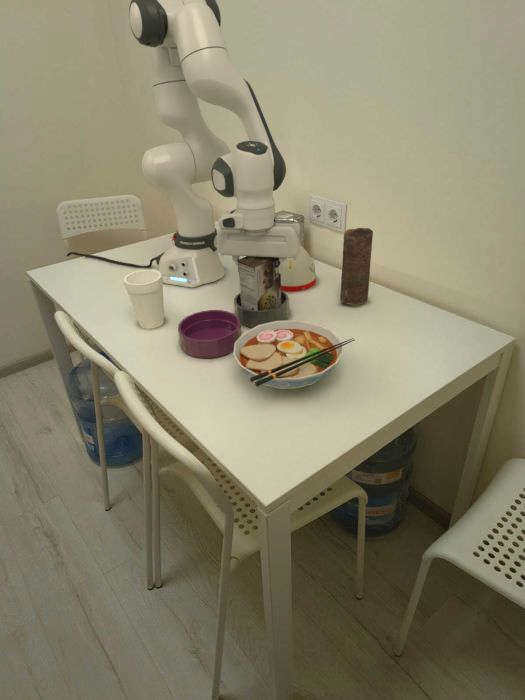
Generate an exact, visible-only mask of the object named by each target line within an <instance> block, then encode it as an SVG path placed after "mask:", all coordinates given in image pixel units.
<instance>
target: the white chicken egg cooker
mask: <svg viewBox="0 0 525 700" xmlns="http://www.w3.org/2000/svg"><path fill="white" fill-rule="evenodd" d="M314 260H315V259H314V257H313V256H311V255H310V254H309V252H308V251H307V250H306V249H305V248H304V247H303V246H302V245H300V253H299V255H298V256H297V257H296V258H286V260H285V262H284V264H283V266H282V274H281V290H282V291H284V292H285V293H286V292H291V293H293V292H302V291H307V290H309V289H311V288H312V287H314V286H315V284H316V282H317V273H316V266H315V261H314ZM281 262H282V261H281ZM281 262H280V263H281Z"/></svg>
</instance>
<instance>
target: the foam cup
mask: <svg viewBox="0 0 525 700" xmlns="http://www.w3.org/2000/svg"><path fill="white" fill-rule="evenodd" d="M156 270H157V269H140V270H136V271H133V272H130V273H128V274H127V275H125V276H124V278H123V279H122V281H123V285H124V289H125V290H126V292H127V294H128V297H129V300H130V303H131V305H132V308H133V311H134V314H135V316H136V319H137V321H138V324H139V326H140V327H141V328H143V329H149V330H150V329H156V328H159V327H160V326H162V325H163V324H164V323H165V308H164V307H165V305H164V286H163V285H164V283H163V277H162V274H161V273H160V272H159V271H156Z"/></svg>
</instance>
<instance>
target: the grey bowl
mask: <svg viewBox="0 0 525 700" xmlns="http://www.w3.org/2000/svg"><path fill="white" fill-rule="evenodd" d="M289 301H290V300H289V296H288V294H287V293H286V291H282V290H281V304H282V305H281V306H278V307H276V308H273V309H269V310H260V311H257V310H249V309H245V308H243V307H241V294H240V292H239V293H237V294H236V295H235V297H234V298H233V303H234V314H235V315H236V316H238V318H239V319H240V322H241V326H243V327H247V328H249V329H252V328H254V327H256V326H258V325H261V324H265V323H270V322H274V321H286V320H287V319H288V318H289V315H290V304H289V303H290V302H289Z"/></svg>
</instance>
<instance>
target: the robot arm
mask: <svg viewBox="0 0 525 700" xmlns="http://www.w3.org/2000/svg"><path fill="white" fill-rule="evenodd" d="M221 16H222V15H221V11H220V8H219V5H218V3H217V1H216V0H131V1H130V3H129V9H128V18H129V24H130V25H129V26H130V29H131V32H132V34H133V36H134V39H136V40H137V42H138V43H139V44H140V45H142V46H144V47H148V48H147V49H148V50H147V51H148V55H147V56H148V69H149V77H150V83H151V89H152V94H153V98H154V103H155V108H156V113H157V117H158V118H159V120H160V121H161V123H162V124H163V125H165V126H167V127H169V128H171V129H173V130H176V131H177V132H179V134H180V135H181V136H182V139H183V141H181V142H173V143H167V144H161V145H158V146H155V147H153V148H150V149H147V150H145V152H144V154H143V155H142V158H141V171H142V174H143V177H144V179H145V180H146V182H147V183H148V184H149V185H150V186H152V187H153V188H154V189H156V190H158V191H159V192H161V193H162V194H163V195H164V196H165V197H166V198H167V200H168V201H169V202H170V204H171V207H172V209H173V212H174V217H175V221H176V226H177V229H176V230H175V232H174V233H173V234H172V236H171V237H170V240H171V242H173V241H174V243H173V244H172V245H171V246H170V247H169V248H168V249H167V250H166V251H164V252H162V253H160V254H158V255H157V256H156V257H155V256H154V257H152V258H151V259H150V260H149V264H148V265H138V264H135V263H130V262H123V261H119V260H115V259H110V258H107V257H103V256H98V255H94V254H88V253H81V252H80V253H79V252H75V251H70V252H67V254H66V257H70V256H71V255H74V256H78V257H86V258H93V259H98V260H102V261H106V262H109V263H114V264H118V265H121V266H127V267H134V268H138V269H139V268H141V269H143V268H144V269H149V268H151V267H152V265H153V262H154V261H156V265H157V266H158V268H157V269H155V270H156V271H159V272H160V273H161V274H162V277H163V284H169V285H174V286H179V287H185V288H197V287H200V286H202V285H206V284H211V283H214V282H216V281H219V280H221V279H222V278H223V277H224V276H225V275H226V271H225V269H224V266H223V263H222V260H221V256H229V257H232V261H233V263H234V264H235V265H236V267H237V272H238V273H239V268H238V260H240V259H241V258H240V257H246V256H252V257H276V258H279V261H280V262H281V261H282V262H281V263H280V265H276V267H275V274H282V266H283V264H284V262H285V260H286V258H296V257H297V256H298V255H299V253H300V246H301V239H300V235H301V232H302V231H301V227H302V226H301V223H300V222H299V221H298V220H297V219H295V218H293V217H287V218H285V217H277V216H276V201H275V198H274V193H273V192H275V191H277V190H278V189H279V188H280V187H281V186H282V183H283V182H284V180H285V178H286V175H287V165H286V162H285V160H284V157H283V155H282V153H281V151H280V150H279V149H278V147H277V144H276V143H275V141H274V137H273V135H272V134H271V131H270V128H269V126H268V123H267V121H266V118H265V115H264V113H263V111H262V108H261V106H260V103H259V100H258V99H257V96H256V94H255V92H254V89H253V87H252V86H251V84H250V82H249V81H247V80H246V79H245V78H243V77H242V76H241V75H240V73H239V72H238V70H237V69H236V67H235V66H234V64H233V63H232V60H231V58H230V56H229V55H230V54H229V52H228V47H227V44H226V40H225V37H224V34H223V32H222V29H221V25H222V19H221V18H222V17H221ZM198 99H199V100H201V101H202V102H205V103H207V104H210V105H214V106H218V107H220V108H223V109H226V110H228V111H230V112H232V113H233V114H235V115H236V116H237V117H238V118H239V119H240V122H241V123H242V125H243V127H244V130H245V132H246V135H247V138H248V140H245V141H241V142H238V143H237V144H236V145H235V146H234V148H233V150H232V151H231V148H230V147H229V145H228V144H227V142H225V141H224V140H223V139H222V138H219V137H218V136H217V135H216V134H215V133H214V132H213V131H212V130H211V129H210V127H209V126H208V124H207V123H206V121H205V118H204V117H203V115H202V112H201V111H202V110H201V109H200V104H199V100H198ZM210 181H211V182H212V187H213V188H214V190H215V191H216V192H217V193H218V194H219V195H220V196H222V197H223V198H235V199H236V208H235V209H231V210H228V211H226V212H225V213H223V214H222V215H221V216H220V217H219V219H218V221H217V222H218V227H219V229H218V230H217V228H216V223H215V215H214V207H213V204H212V202H211V201H210V200H209V199H208V198H207V197H204V196H203V195H200V194H196V193H194V192H193V190H192V185H193V184H197V183H198V184H199V183H204V182H210Z"/></svg>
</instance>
